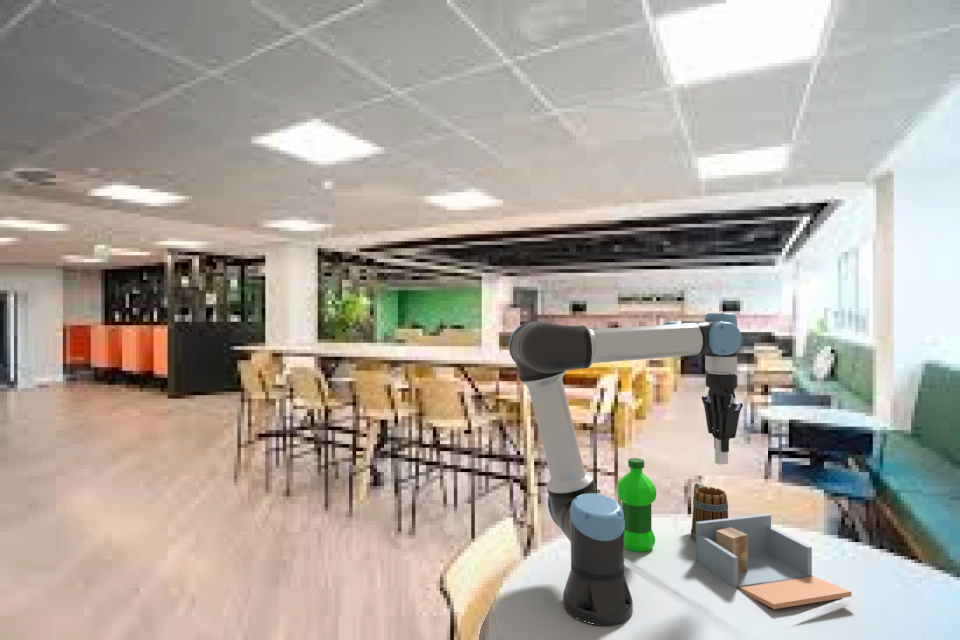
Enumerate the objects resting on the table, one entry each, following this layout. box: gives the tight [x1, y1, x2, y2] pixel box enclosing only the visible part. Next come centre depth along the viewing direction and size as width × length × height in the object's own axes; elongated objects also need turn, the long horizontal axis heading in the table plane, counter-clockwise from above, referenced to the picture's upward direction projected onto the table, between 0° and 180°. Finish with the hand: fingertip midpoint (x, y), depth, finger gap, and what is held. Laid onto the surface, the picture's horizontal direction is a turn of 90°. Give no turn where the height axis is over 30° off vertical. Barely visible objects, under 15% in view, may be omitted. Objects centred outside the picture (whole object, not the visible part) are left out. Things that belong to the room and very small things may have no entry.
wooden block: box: [716, 527, 748, 574], centre depth 132 cm, size 5×5×9 cm
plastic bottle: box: [616, 457, 657, 553], centre depth 146 cm, size 10×10×25 cm
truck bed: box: [695, 513, 813, 589], centre depth 132 cm, size 22×14×12 cm, turn 104°
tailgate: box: [736, 575, 853, 610], centre depth 120 cm, size 20×1×11 cm
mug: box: [690, 482, 729, 543], centre depth 152 cm, size 16×11×15 cm
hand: (721, 463), depth 137 cm, fingers closed
